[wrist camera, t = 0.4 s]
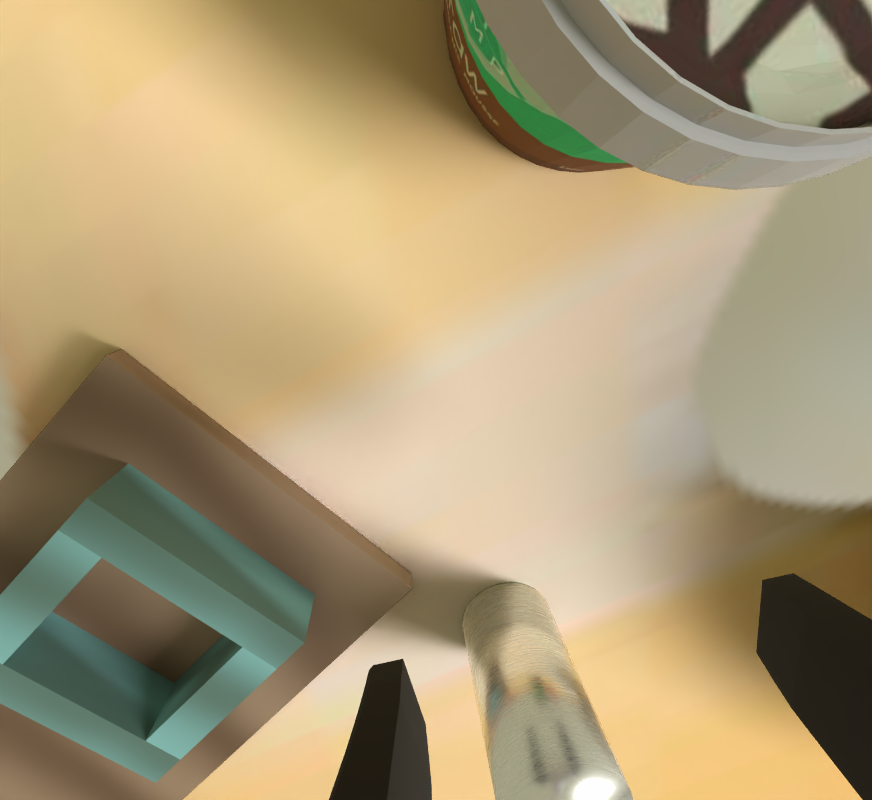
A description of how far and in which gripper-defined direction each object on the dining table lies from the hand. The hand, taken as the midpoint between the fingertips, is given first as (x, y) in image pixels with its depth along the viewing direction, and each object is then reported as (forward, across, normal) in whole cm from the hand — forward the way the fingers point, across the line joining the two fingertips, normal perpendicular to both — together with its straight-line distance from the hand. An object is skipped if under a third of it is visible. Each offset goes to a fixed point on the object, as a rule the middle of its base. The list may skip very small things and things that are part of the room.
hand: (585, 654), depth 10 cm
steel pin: (+9, +1, +9) cm, 13 cm away
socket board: (+9, +17, +5) cm, 20 cm away
